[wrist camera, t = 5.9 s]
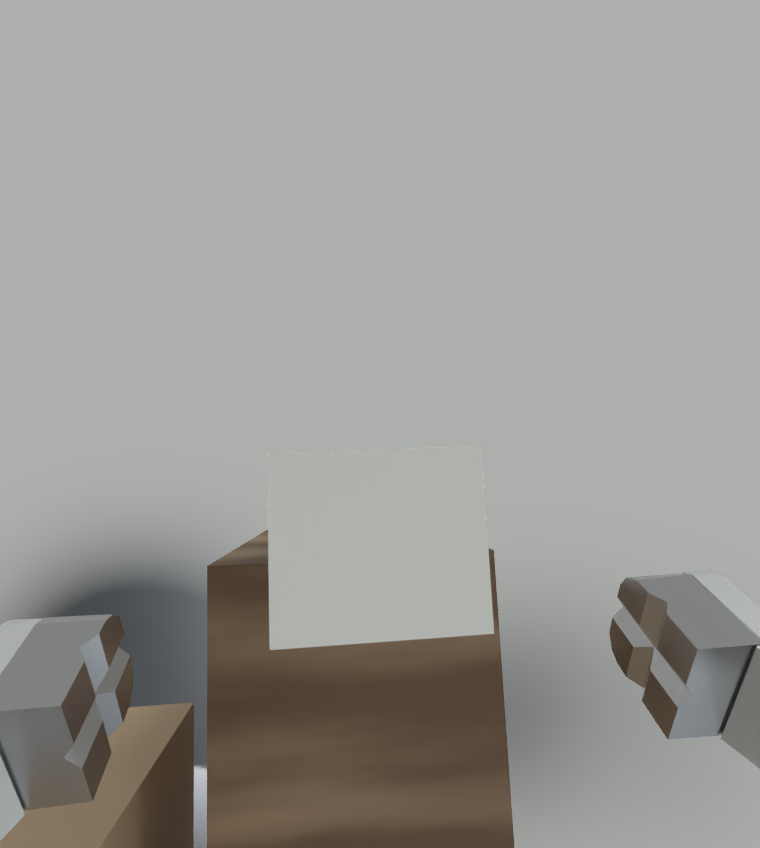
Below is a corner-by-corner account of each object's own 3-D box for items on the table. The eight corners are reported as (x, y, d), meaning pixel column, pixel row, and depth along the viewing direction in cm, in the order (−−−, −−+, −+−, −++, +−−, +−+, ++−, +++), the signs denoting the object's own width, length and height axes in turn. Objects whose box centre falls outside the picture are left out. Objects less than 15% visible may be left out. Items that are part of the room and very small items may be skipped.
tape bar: (493, 633, 8) (481, 445, 8) (269, 650, 8) (266, 452, 8) (367, 523, 36) (365, 480, 36) (317, 525, 35) (316, 482, 36)
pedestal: (556, 1453, 15) (493, 549, 18) (206, 1539, 14) (207, 566, 17) (440, 958, 31) (418, 522, 34) (272, 981, 30) (266, 530, 33)
